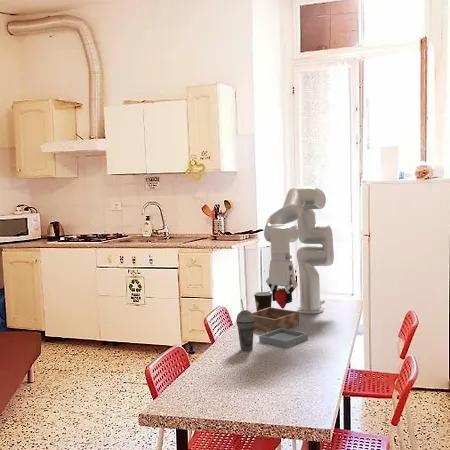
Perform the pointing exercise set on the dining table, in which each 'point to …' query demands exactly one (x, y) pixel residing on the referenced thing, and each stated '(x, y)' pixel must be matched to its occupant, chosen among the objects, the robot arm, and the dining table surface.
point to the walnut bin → (275, 319)
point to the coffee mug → (263, 300)
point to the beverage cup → (245, 329)
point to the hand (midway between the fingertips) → (282, 301)
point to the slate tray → (283, 337)
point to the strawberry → (281, 297)
